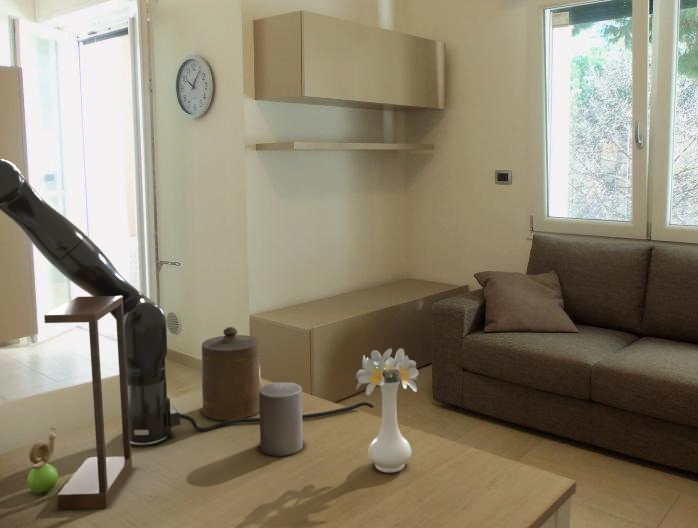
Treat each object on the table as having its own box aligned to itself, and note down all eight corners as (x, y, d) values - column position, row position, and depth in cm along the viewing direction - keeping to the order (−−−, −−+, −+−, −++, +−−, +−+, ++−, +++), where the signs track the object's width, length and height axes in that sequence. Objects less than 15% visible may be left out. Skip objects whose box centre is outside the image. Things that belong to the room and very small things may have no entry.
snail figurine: (68, 484, 139) (64, 428, 137) (43, 500, 133) (39, 440, 131) (47, 480, 141) (43, 424, 139) (21, 495, 135) (17, 437, 133)
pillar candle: (251, 452, 153) (249, 387, 152) (274, 435, 162) (273, 374, 160) (289, 459, 150) (288, 393, 148) (311, 441, 159) (309, 379, 157)
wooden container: (272, 404, 182) (270, 323, 180) (238, 424, 169) (235, 337, 166) (226, 396, 188) (223, 318, 186) (190, 415, 175) (187, 331, 172)
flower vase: (419, 447, 155) (419, 340, 152) (417, 486, 137) (417, 365, 134) (362, 445, 157) (361, 339, 153) (352, 484, 138) (351, 364, 135)
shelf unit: (57, 509, 129) (44, 315, 124) (88, 470, 145) (77, 296, 140) (106, 508, 130) (94, 314, 125) (132, 469, 145) (122, 295, 141)
